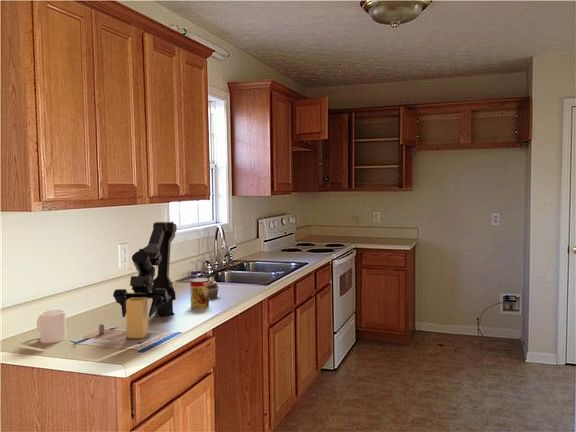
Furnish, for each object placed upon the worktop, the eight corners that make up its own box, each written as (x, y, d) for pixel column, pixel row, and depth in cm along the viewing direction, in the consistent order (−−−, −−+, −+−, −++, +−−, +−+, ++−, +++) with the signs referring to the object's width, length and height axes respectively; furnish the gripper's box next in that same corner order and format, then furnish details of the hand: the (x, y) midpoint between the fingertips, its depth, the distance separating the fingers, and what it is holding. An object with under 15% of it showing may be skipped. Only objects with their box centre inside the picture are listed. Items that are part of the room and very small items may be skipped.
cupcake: (199, 300, 238) (198, 279, 237) (198, 295, 248) (197, 275, 247) (219, 298, 240) (219, 277, 240) (217, 294, 250) (217, 274, 249)
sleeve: (132, 333, 182) (131, 297, 181) (148, 333, 182) (147, 297, 181) (127, 338, 176) (126, 300, 175) (143, 337, 176) (142, 300, 175)
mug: (28, 342, 177) (26, 313, 177) (48, 335, 185) (47, 307, 184) (51, 346, 172) (49, 316, 171) (71, 339, 179) (70, 311, 178)
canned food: (210, 307, 223) (209, 280, 222) (192, 309, 221) (191, 281, 220) (207, 303, 230) (206, 277, 230) (189, 305, 228) (189, 278, 227)
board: (82, 339, 179) (81, 327, 179) (101, 331, 189) (101, 319, 189) (140, 344, 173) (140, 331, 172) (157, 334, 183) (156, 322, 183)
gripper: (113, 267, 182) (102, 304, 171) (165, 266, 181) (157, 304, 171) (122, 284, 190) (112, 321, 180) (172, 283, 190) (165, 321, 179)
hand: (136, 316), depth 177 cm, fingers open, 9 cm apart
